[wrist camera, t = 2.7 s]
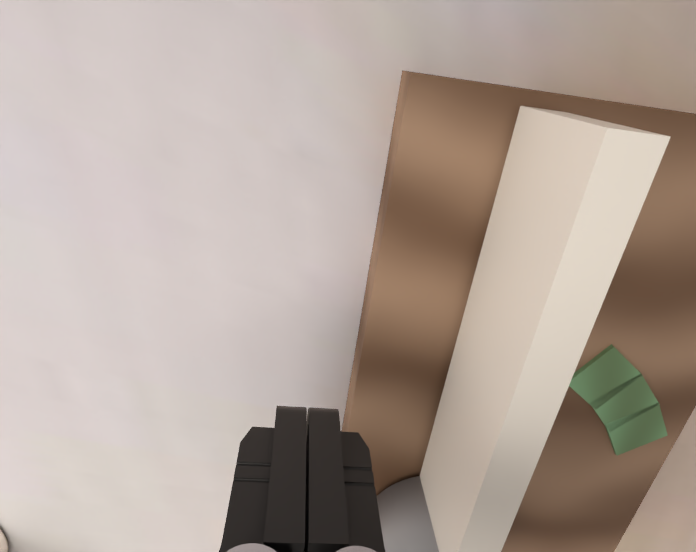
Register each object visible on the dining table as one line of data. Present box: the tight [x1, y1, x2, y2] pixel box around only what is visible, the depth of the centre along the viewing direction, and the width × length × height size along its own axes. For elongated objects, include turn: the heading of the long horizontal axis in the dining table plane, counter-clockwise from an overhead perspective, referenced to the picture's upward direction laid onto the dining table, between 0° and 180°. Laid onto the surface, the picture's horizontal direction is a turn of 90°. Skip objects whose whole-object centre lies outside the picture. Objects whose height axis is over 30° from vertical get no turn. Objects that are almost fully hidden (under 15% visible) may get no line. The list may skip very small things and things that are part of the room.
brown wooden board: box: [342, 71, 696, 552], centre depth 21 cm, size 24×16×2 cm, turn 172°
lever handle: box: [377, 106, 670, 552], centre depth 18 cm, size 22×6×5 cm, turn 172°
